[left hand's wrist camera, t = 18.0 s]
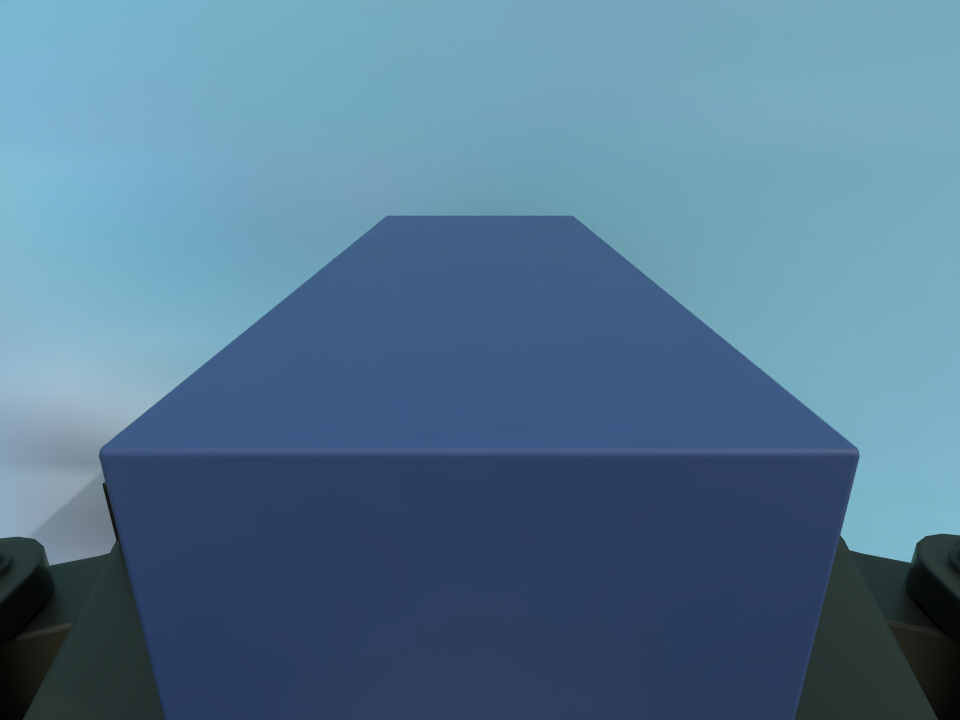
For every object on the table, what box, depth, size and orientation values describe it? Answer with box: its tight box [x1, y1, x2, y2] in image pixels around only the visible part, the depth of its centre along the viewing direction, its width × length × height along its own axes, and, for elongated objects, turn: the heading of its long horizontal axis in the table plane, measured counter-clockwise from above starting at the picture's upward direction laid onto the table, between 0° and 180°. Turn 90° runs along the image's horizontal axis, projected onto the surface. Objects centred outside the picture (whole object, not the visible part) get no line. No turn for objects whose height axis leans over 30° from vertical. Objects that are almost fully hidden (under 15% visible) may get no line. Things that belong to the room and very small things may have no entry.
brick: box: [99, 216, 859, 720], centre depth 11 cm, size 8×5×12 cm, turn 0°
